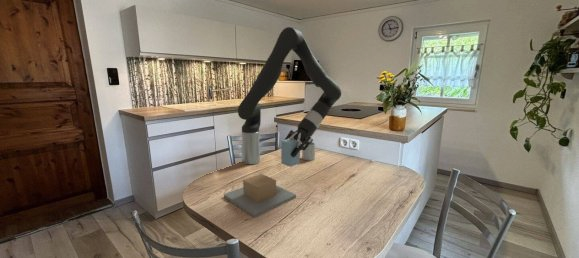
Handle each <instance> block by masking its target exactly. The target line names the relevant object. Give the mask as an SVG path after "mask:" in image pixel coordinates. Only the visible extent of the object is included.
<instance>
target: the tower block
mask: <svg viewBox="0 0 579 258" xmlns="http://www.w3.org/2000/svg"><path fill="white" fill-rule="evenodd" d="M296 146H297V140H294V139H289V138H288V139H286V140H285V139H282V140H281V150H280V151H281V153H280V155H281V157H280V159H281V160H280V161H281V164H282V165H285V166H287V167H290V168H292V167H294V166H297V165H300V162H301V161H300V159H301V158H300V156H301V151H299V152H298V154H297V155H296V156H295V157H292V156H291V155H290V154H291V152H292V151H293V150H294V148H295V147H296Z"/></svg>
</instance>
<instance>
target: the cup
mask: <svg viewBox="0 0 579 258" xmlns="http://www.w3.org/2000/svg"><path fill="white" fill-rule="evenodd" d="M305 145H306V144H305ZM305 145H304V146H305ZM304 146H303V147H304ZM301 153H302V156H301V158H302V160H304V161H314V160H315V159H316V143H315V142H314V141H312V142H311V144H310V145H309V146H308V147H307V148H306V149H305V150H304V151H303V150H301Z"/></svg>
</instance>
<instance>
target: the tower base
mask: <svg viewBox="0 0 579 258" xmlns="http://www.w3.org/2000/svg"><path fill="white" fill-rule="evenodd" d="M242 186H243V187H240V188H237V189H235V190H231V191H228V192H226V193H224V194H223V197H224V199H227V200H228V201H229V202H231V203H233V204H234V205H236V206H237V207H239V208H240V209H241V210H243V211H244V212H246V213H247V214H249V215H251V216H252V217H253V218H256V217H258V216H260V215H262V214H265V213H267V212H268V211H271V210H274V209H275V208H277V207H280V206H281V205H284V204H285V203H287V202H290V201H292V200H295V199H296V198H297V194H296V193H293V192H291V191H289V190H288V189H286V188H283V187H281V186H279V185H277V180H276V179H275V178H272V177H271V176H268V175H265V174H263V173H260V174H256V175H254V176H251V177H247V178H245V179H242Z"/></svg>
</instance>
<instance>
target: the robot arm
mask: <svg viewBox="0 0 579 258" xmlns="http://www.w3.org/2000/svg"><path fill="white" fill-rule="evenodd" d="M291 51H293V52H294V54H296V55H297V57H298V58H299V59H300V61H301V62H302V65H303V67H304V70H305V73H306V74H307V76H308V78H309V79H310V80H311V81H312V83H313V84H314V86H316V87H317V88H320V89H321V90H322V91H323V93H322V94H321V95H320V96H319V98H318V100H317V101H316V102H315V103H314V105H313V106H312V107H311V108H310V109H309V111H307V113H306V114H305V115H304V117H303V118H302V119H301V120H300V122H299V124H298V125H297V129H296V130H295V131H293V129H291V130H290V131H289V132H288V133H287V136H286V137H285V138H284V140H286V139H294V140H297V146H296V147H295V148H294V150H293V151H292V152H291V154H290V155H291V156H292V157H295V156H296V155H297V154H298V152H299V151H300V152H302V150H303V151H304V150H305V149H306V148H307V147H308V146H309V145H310V144H311V142H314V139H313V138H312V136H313V135H314V134H315V132H316V131H317V130H318V128H319V127H320V126H321V124H322V122H323V120H324V119H325V117H326V116H327V115H328V113H329V112H330V109H331V108H332V107H333V105H334V104H335V103H336V102H337V101H338V100H339V99H340V98H341V97H342V91H341V88H340V86H339V85H338V84H337V83H336V82H335V81H334V80H333V79H332V78H331V77H329V76H328V74H327V73H326V71H325V70H324V68H323V67H322V66H321V64H320V63H319V61H318V60H317V59H316V57H315V54H314V53H313V52H312V51H311V49H310V47H309V45H308V43H307V41H306V39H305V36H304V35H303V33H302V32H301V31H300V30H299V29H297V28H295V27H293V26H288V27H285V28H283V29H282V30H281V32H280V33H279V35H278V36H277V40H276V41H275V44H274V47H273V48H272V51H271V53H270V55H269V56H268V58H267V60H266V61H265V63H264V65H263V66H262V67H261V70H260V72H259V73H258V75H257V77H256V79H255V81H254V82H253V84H252V85H251V88H250V89H249V91H248V93H247V94H246V96H245V97H244V98H243V100H241V102H240V103H239V106H238V107H237V114H238V115H237V116H238V117H239V118H240V119H242V120H245V121H244V123H243V125H242V126H241V142H242V143H241V161H242V162H243V164H244V165H255V164H256V165H257V164H258V163H259V164H260V162H261V153H260V152H261V151H260V150H261V148H260V147H261V146H260V127H261V123H262V122H261V120H262V119H261V117H262V116H261V115H262V114H261V106H260V103H259V102H260V101H261V100H262V99H263V98H264V97H265V96H266V95H268V94H269V93H270V92H271V90H272V89H273V88H274V86H275V85H276V83H277V82H278V80H279V79H280V76H281V74H282V69H283V65H284V62H285V60H286V58H287V57H288V55H289V54H290V52H291ZM305 144H306V145H305ZM304 145H305V146H304ZM303 146H304V147H303Z"/></svg>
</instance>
